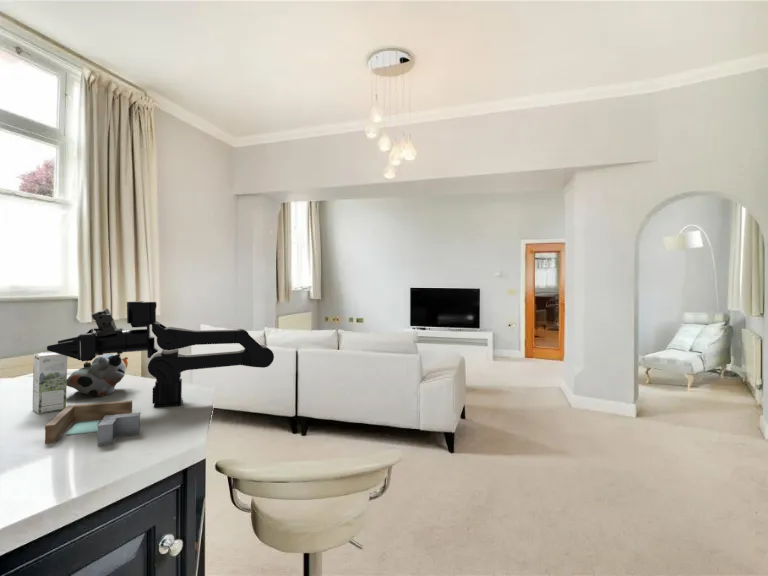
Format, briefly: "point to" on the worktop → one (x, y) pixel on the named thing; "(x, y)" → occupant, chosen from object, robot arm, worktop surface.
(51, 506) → the worktop surface
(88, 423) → the mat
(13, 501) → the worktop surface
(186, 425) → the worktop surface
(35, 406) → the syrup box
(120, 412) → the corner wall
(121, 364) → the lucky cat figurine
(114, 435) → the bracket
